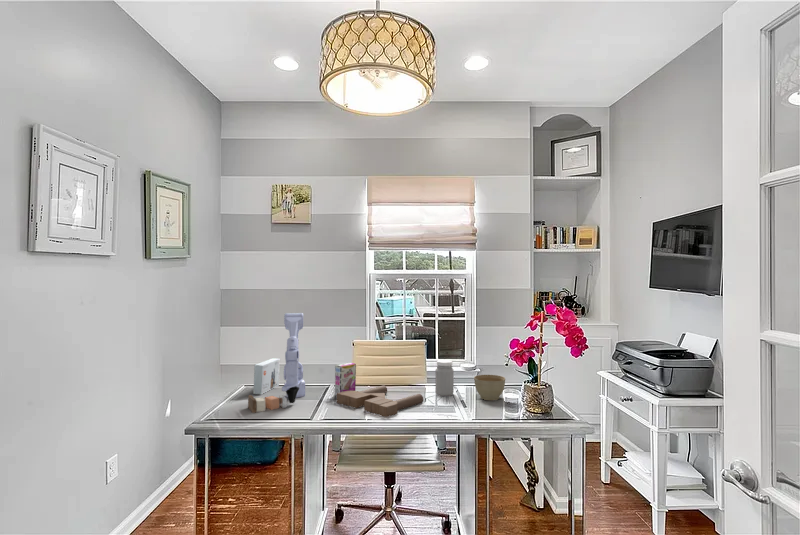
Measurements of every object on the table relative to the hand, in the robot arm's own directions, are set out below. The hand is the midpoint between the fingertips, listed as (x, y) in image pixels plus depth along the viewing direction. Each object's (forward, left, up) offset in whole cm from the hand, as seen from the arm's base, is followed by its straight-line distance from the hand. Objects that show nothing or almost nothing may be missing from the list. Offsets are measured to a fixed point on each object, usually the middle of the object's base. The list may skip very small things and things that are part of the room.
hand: (291, 402), depth 227 cm
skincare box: (+2, -39, -2) cm, 39 cm away
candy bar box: (-32, -8, -2) cm, 33 cm away
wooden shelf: (+10, -1, -2) cm, 11 cm away
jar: (-79, +17, -2) cm, 80 cm away
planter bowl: (-95, +35, -2) cm, 101 cm away
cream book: (+15, 0, -1) cm, 16 cm away
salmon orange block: (+10, 0, -1) cm, 10 cm away
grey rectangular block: (+4, 0, -1) cm, 5 cm away
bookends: (-41, +16, -3) cm, 44 cm away
